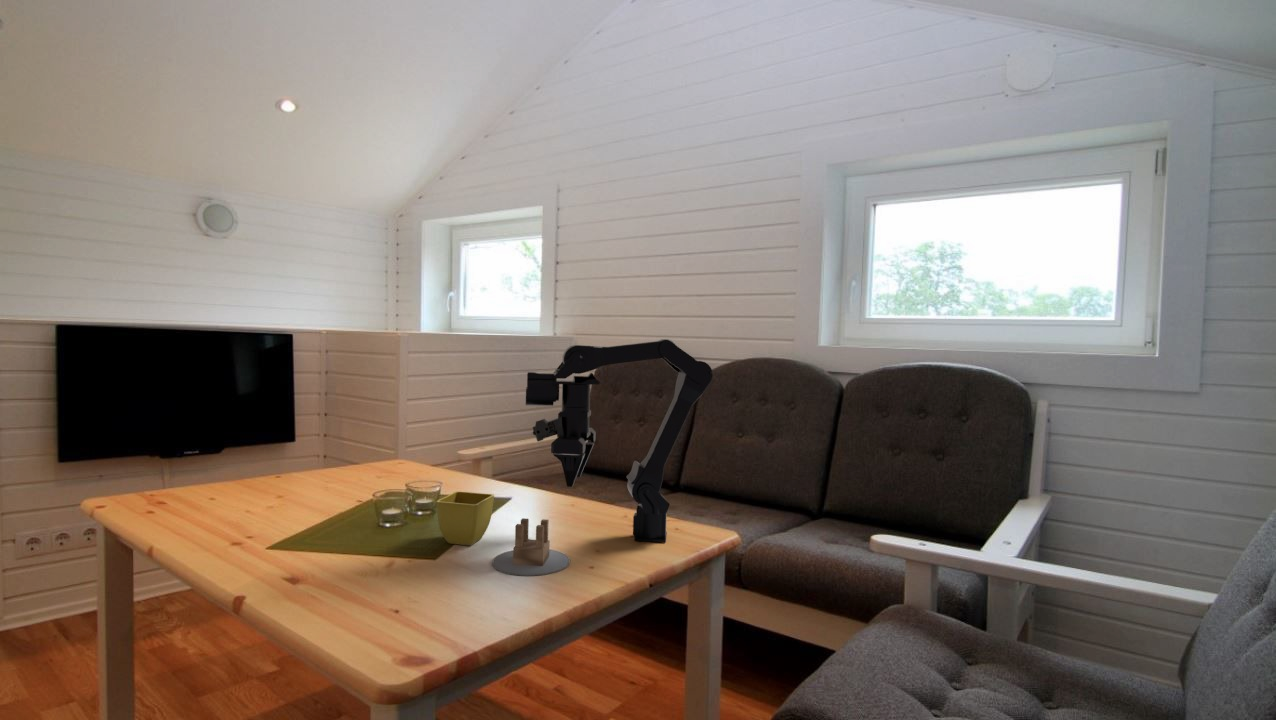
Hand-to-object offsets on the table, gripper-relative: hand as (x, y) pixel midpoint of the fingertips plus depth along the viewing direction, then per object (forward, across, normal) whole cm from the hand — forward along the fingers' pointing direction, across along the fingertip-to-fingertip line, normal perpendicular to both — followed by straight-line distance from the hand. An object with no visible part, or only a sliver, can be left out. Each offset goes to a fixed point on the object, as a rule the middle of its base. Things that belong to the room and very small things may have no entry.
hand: (573, 481), depth 137 cm
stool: (+12, +15, -5) cm, 20 cm away
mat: (+12, +15, -5) cm, 20 cm away
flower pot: (+12, +5, -21) cm, 25 cm away
